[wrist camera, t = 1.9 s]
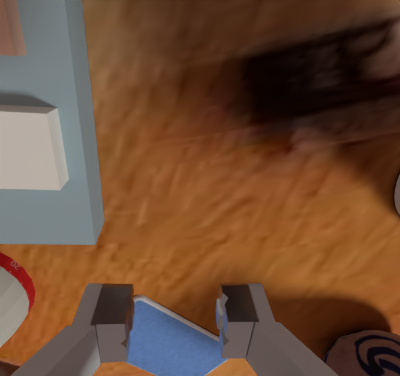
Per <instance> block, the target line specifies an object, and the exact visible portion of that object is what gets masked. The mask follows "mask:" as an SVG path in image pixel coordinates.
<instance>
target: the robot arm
mask: <svg viewBox="0 0 400 376" xmlns="http://www.w3.org/2000/svg"><path fill="white" fill-rule="evenodd" d="M394 199H395V206H396V209H397V211H398V213H399V215H400V175H399V177H398V180H397V183H396V187H395V196H394ZM133 294H134V288H133V284H91V283H89V284H88V285H87V286H86V288H85V291H84V294H83V296H82V299H81V302H80V304H79V307H78V310H77V312H76V315H75V318H74V320H73V323H72V326H66V327H65V328H64V329H63V330H62V331H60V332H59V333H58V334H57V335H56V336H55V337H54V338H53V339H51V340H50V341H49V342H48V343H47V344H46V345H45V346H44V347H42V348H41V349H40V350H39V351H38V352H37V353H36V354H34V355H33V356H32V357H31V358H30V359H29V360H28V361H27V362H25V363H24V364H23V365H22V366H21V367H20V368H19V369H18V370H16V371H15V372H14V373H13V374H12V375H11V376H92V375H93V374H94V372H95V371H96V370H97V369H98V367H99V366H100V365H101V364H100V363H104V362H121V361H127V360H128V354H129V348H130V331H131V330H132V328H133V321H134V300H133ZM218 295H219V298H218V299H217V301H216V323H217V328H218V329H219V330H220V335H219V344H220V351H221V357H222V358H246V360H247V362H248V363H249V364H250V366H251V367H252V368H253V370H254V371H255V372H256V374H257V375H258V376H338V375H337V374H336V373H335V372H334V371H333V370H332V369H331V368H330V367H328V366H327V365H326V364H325V363H324V362H323V361H322V360H321V359H320V358H319V357H317V356H316V355H315V354H314V353H313V352H312V351H311V350H310V349H309V348H308V347H306V346H305V345H304V344H303V343H302V342H301V341H300V340H299V339H298V338H297V337H295V336H294V335H293V334H292V333H291V332H290V331H289V330H288V329H287V328H286V327H284V326H283V325H282V324H281V323H280V322H275V319H274V316H273V314H272V311H271V308H270V305H269V302H268V300H267V297H266V294H265V291H264V289H263V286H262V284H261V283H247V284H246V283H224V284H219V287H218Z"/></svg>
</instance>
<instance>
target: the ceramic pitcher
mask: <svg viewBox="0 0 400 376" xmlns="http://www.w3.org/2000/svg"><path fill="white" fill-rule="evenodd" d="M322 361H323V362H324V363H325V364H326V365H327V366H328V367H330V368H331V369H332V370H333V371H334V372H335V373H336V374H337V375H338V376H400V336H399V335H397V334H393V333H388V332H385V331H381V330H364V331H361V332H358V333H353V334H350V335H346V336H342V337H340V338H338V339H337V341H336V343H333V344H332V346H331V347H330V348H329V350H328V351H327V352H326V353H325V356H324V358H323V360H322Z"/></svg>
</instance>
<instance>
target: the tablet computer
mask: <svg viewBox="0 0 400 376" xmlns="http://www.w3.org/2000/svg"><path fill="white" fill-rule="evenodd" d="M133 300H134V321H133V328H132V330H131V331H130V348H129V354H128V360H127V361H124V362H126V363H128V364H131V365H133V366H135V367H138V368H140V369H143V370H145V371H147V372H150V373H152V374H154V375H156V376H205V375H207V374H208V373H210V372H211V371H212V370H214V369H215V368H217V367H218V366H219V365H221V364H222V363H224V362H225V361H227V360H228V359H229V358H222V357H221V351H220V344H219V337H218V336H216V335H214V334H212V333H210V332H209V331H207V330H205V329H203V328H201V327H199V326H198V325H196V324H194V323H192V322H190V321H189V320H187V319H185V318H183V317H181V316H179V315H178V314H176V313H174V312H172V311H170V310H169V309H167V308H165V307H163V306H162V305H160V304H158V303H157V302H155V301H153V300H151V299H149V298H148V297H146V296H143V295H137V296H135V297H134V298H133Z"/></svg>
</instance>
